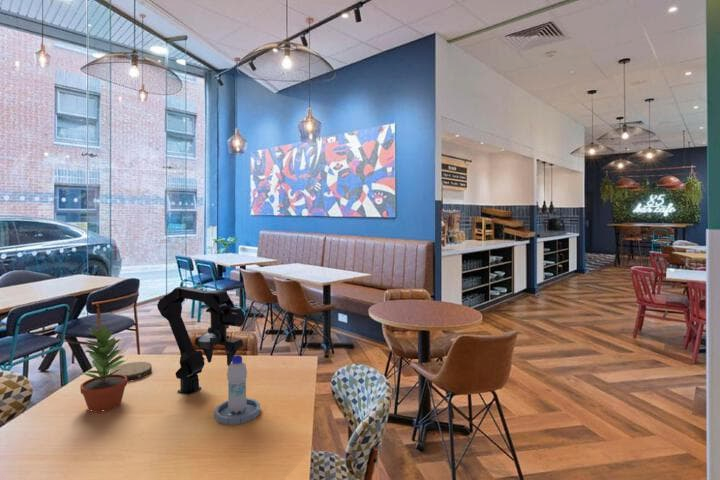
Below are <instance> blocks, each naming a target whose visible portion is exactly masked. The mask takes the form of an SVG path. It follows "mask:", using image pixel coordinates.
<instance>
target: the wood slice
mask: <svg viewBox="0 0 720 480" xmlns="http://www.w3.org/2000/svg"><path fill="white" fill-rule="evenodd" d="M152 368H153V367H152V363H150V362H146V361H133V362H128V363H127V362H126V363H124V364H123V363H122V364H120V365H118V366H116V367H115V368H113V369H111V370H110V371H109V374H110V373H113V372H115V371H117V370H119V369H121V370H119V371H117V372H115V373H114V374H121V375H125V376H126V377H127V382H132V381H131V380H133V381H136V380H141V379H143V378H146V377H148V376H149V375H151V373H152V370H153V369H152ZM147 375H148V376H147ZM145 376H146V377H145ZM140 378H141V379H140Z"/></svg>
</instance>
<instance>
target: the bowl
mask: <svg viewBox="0 0 720 480" xmlns="http://www.w3.org/2000/svg"><path fill="white" fill-rule="evenodd" d="M246 400H247V406H246V410H245V411H243V413H240V411H239V412H238V414H235V412H234V413H233V414H231V413H230V411H229V409H228V400H225V401H223V402H222V403H220V404H218V405H217V406H216V407H215V409H214V420H216V422H217V423H218V424H223V425H226V426H232V425H233V426H235V425H242V424H246V423H249V422H252V421H253V420H255V419H256V418H257V417H259V416H260V412H261V403H260V402H259V401H258V400H257V399H253V398H249V397H246Z"/></svg>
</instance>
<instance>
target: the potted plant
mask: <svg viewBox="0 0 720 480" xmlns="http://www.w3.org/2000/svg"><path fill="white" fill-rule="evenodd" d="M87 328H88V329H89V330H90V332H91V333H92V334H93V335H94V336H95V337H96V341H95V340H90V339H89V340H87V339H86V341H87V342H88V343H90V344H84V346H85V347H87V348H88V349H90V350H85V352H86V353H88V354H89V356H90V357H91V359H93V360H92V361H91V363H92V364H93V366H94V367H95V369H96V370H88V371H87V372H86V373H80V374H82V375H84V376H87V377H90V379H87V380H85V381H84V382H82V383H81V384H80V386H79V387H80V394H82V396H83V398H84V401H85V404H86V406H87V410H88V409H89V410H92V411H102V410H107V411H109V410H108V409H111V410H113V409H115V408H118V407H119V406H120V405H121V404H120V403H122V400H123V396H124V392H125V390H126V387H127V385H128V381H127V377H126V376H125V375H121V374H114V373H115V372H117V371H119V370H121V369H119V370H117V371H115V372H113V373H110V371H111V370H112V369H113V368H115V367H117V366H119V365H122V364H123V363H124V364H125V362H126V361H128V358H127V359H126V360H121V359H122V358H124V357H125V356H126V354H124V355H119V356H117V355H118V354H119V353H120V352H121V351H122V350H123V348H124V347H123V348H120V349H118V347H119V346H120V343H119V342H120V341H121V340H122V339H124V337H122V338H120V339H117V340H116V338H115V337H116V336H113V337H112V334H113V333H114V332H115V330H116V329H115V328H114V329H113V330H111V331H109V332H108V327H105V325H103V326H102V327H100V328H99V329H98V330H96V329H95V328H93V327H92V328H91V327H88V326H87ZM111 337H112V338H111ZM118 343H119V344H118ZM116 344H118V345H117V346H116ZM115 346H116V347H115ZM96 374H98V375H96ZM118 405H119V406H118ZM112 408H113V409H112ZM89 410H88V411H89Z"/></svg>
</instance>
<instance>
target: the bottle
mask: <svg viewBox="0 0 720 480" xmlns="http://www.w3.org/2000/svg"><path fill="white" fill-rule="evenodd" d="M247 373H248V370H247V364H246V363H245V362H243V357H242V355H234V357H233V358H232V362H231V364H230V365H229V366H227V373H226V377H227V378H226V379H227V381H228V383H227V384H228V389H227V390H228V395H227V396H228V398H227V401H228V409H229V411H230V413H231V414H233V413H234V412H235V414H238V412H239V411H240V413H243V411H245V410H246V406H247V400H246V398H247V383H246V382H247V377H248V376H247V375H248V374H247Z"/></svg>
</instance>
